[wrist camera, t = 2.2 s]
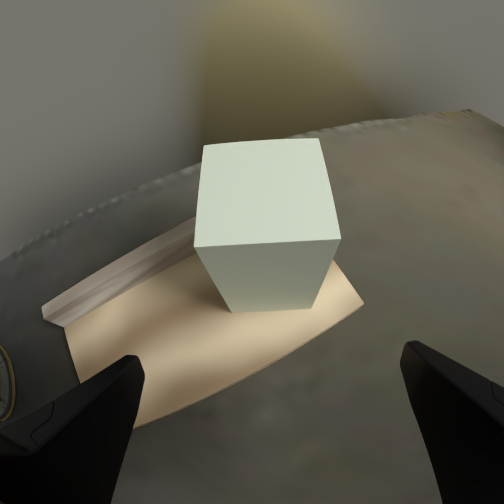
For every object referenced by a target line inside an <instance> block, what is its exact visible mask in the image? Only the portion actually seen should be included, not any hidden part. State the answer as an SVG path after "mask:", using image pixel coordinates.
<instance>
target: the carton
mask: <svg viewBox="0 0 504 504" xmlns="http://www.w3.org/2000/svg"><path fill="white" fill-rule="evenodd" d="M340 240H341V236H340V231H339V226H338V221H337V216H336V211H335V206H334V201H333V196H332V192H331V187H330V183H329V179H328V174H327V170H326V166H325V162H324V158H323V154H322V150H321V146H320V143H319V139H318V138H315V139H279V140H261V141H247V142H234V143H224V144H214V145H205V146H204V150H203V158H202V166H201V175H200V184H199V194H198V204H197V215H196V226H195V238H194V248H195V250H196V252H197V254H198V256H199V257H200V259H201V261H202V263H203V264H204V266H205V268H206V270H207V271H208V273H209V275H210V277H211V278H212V280H213V282H214V283H215V285H216V287H217V289H218V290H219V292H220V294H221V295H222V297H223V299H224V300H225V302H226V304H227V306H228V307H229V309H230V311H231V312H232V313H241V312H265V311H283V310H299V309H311V308H312V306H313V304H314V302H315V299H316V297H317V295H318V293H319V290H320V288H321V286H322V284H323V281H324V279H325V277H326V274H327V272H328V270H329V267H330V265H331V262H332V260H333V258H334V255H335V253H336V250H337V248H338V245H339V243H340Z"/></svg>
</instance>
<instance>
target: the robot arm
mask: <svg viewBox="0 0 504 504" xmlns="http://www.w3.org/2000/svg"><path fill="white" fill-rule="evenodd" d="M400 367H401V371H402V374H403V378H404V381H405V385H406V389H407V393H408V397H409V400H410V403H411V406H412V409H413V412H414V414H415V417H416V420H417V422H418V425H419V428H420V431H421V433H422V436H423V439H424V442H425V445H426V448H427V451H428V454H429V457H430V460H431V464H432V467H433V470H434V473H435V477H436V480H437V484H438V487H439V491H440V495H441V498H442V503H443V504H504V387H502V386H500V385H498V384H496V383H494V382H493V381H491V382H490V380H489V379H487V378H485V377H483V376H482V375H480V374H478V373H476V372H474V371H472V370H471V369H469V368H467V367H465V366H463V365H461V364H459V363H458V362H456V361H454V360H452V359H450V358H448V357H447V356H445V355H443V354H441V353H439V352H437V351H436V350H434V349H432V348H430V347H428V346H426V345H425V344H423V343H421V342H419V341H417V340H414V341H409V342H406V343H405V345H404V349H403V352H402V356H401V360H400ZM144 382H145V372H144V369H143V367H142V364H141V361H140V359H139V357H138V356H137V355H129V354H128V355H125V356H123V357H122V358H120V359H119V360H117V361H116V362H114V363H112V364H111V365H109V366H108V367H106V368H105V369H103V370H102V371H100V372H98V373H97V374H95V375H94V376H92V377H91V378H89V379H87V380H86V381H84V382H83V383H81V384H79V385H78V386H76V387H75V388H73V389H71V390H70V391H68V392H67V393H65V394H63V395H62V396H60V397H59V398H57V399H55V401H52V402H51V403H49V404H47V405H46V406H44V407H42V408H41V409H39V410H37V411H35V412H33V413H32V414H30V415H28V416H26V417H24V418H22V419H20V420H18V421H15V422H13V423H11V424H9V425H7V426H5V427H3V428H0V504H111V500H112V497H113V493H114V489H115V486H116V482H117V479H118V475H119V472H120V469H121V465H122V462H123V458H124V455H125V452H126V449H127V445H128V442H129V439H130V436H131V433H132V430H133V427H134V424H135V421H136V417H137V414H138V410H139V405H140V400H141V395H142V391H143V386H144Z"/></svg>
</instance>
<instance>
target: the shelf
mask: <svg viewBox="0 0 504 504" xmlns="http://www.w3.org/2000/svg"><path fill="white" fill-rule="evenodd" d="M195 226H196V216H195V217H193V218H191V219H189V220H187V221H185V222H184V223H182V224H180V225H178V226H176V227H174V228H172V229H171V230H169V231H167V232H165V233H163V234H161V235H160V236H158V237H156V238H154V239H152V240H151V241H149V242H147V243H145V244H143V245H142V246H140V247H138V248H136V249H135V250H133V251H131V252H129V253H128V254H126V255H124V256H123V257H121V258H119V259H117V260H116V261H114V262H112V263H111V264H109V265H107V266H106V267H104V268H102V269H101V270H99V271H97V272H96V273H94V274H92V275H91V276H89V277H87V278H86V279H84V280H83V281H81V282H79V283H78V284H76V285H75V286H73V287H71V288H70V289H68V290H67V291H65V292H63V293H62V294H60V295H59V296H57V297H56V298H54V299H53V300H51V301H50V302H48V303H47V304H45V305H43V306H42V313H43V318H44V319H45V320H47V321H50V322H52V323H54V324H57V325H59V326H62V327H64V330H65V334H66V338H67V342H68V345H69V349H70V352H71V356H72V359H73V362H74V365H75V369H76V372H77V375H78V378H79V381H80V383H83V382H84V381H86V380H87V379H89V378H91V377H92V376H94V375H95V374H97V373H98V372H100V371H102V370H103V369H105V368H106V367H108V366H109V365H111V364H112V363H114V362H116V361H117V360H119V359H120V358H122V357H123V356H125V355H128V354H129V355H137V356H138V357H139V359H140V361H141V364H142V367H143V369H144V372H145V382H144V386H143V391H142V395H141V400H140V405H139V410H138V414H137V417H136V421H135V424H134V427H133V429H135V428H138V427H140V426H143V425H145V424H148V423H150V422H153V421H155V420H158V419H160V418H163V417H165V416H167V415H170V414H172V413H174V412H177V411H179V410H181V409H183V408H186V407H188V406H190V405H192V404H194V403H197V402H199V401H201V400H203V399H205V398H207V397H209V396H211V395H213V394H215V393H217V392H219V391H221V390H223V389H225V388H227V387H229V386H231V385H233V384H235V383H237V382H239V381H241V380H243V379H245V378H247V377H249V376H250V375H252V374H254V373H256V372H258V371H260V370H261V369H263V368H265V367H267V366H269V365H270V364H272V363H274V362H276V361H277V360H279V359H281V358H282V357H284V356H286V355H288V354H289V353H291V352H293V351H294V350H296V349H298V348H299V347H301V346H303V345H304V344H306V343H307V342H309V341H311V340H312V339H314V338H315V337H317V336H319V335H320V334H322V333H323V332H325V331H326V330H328V329H329V328H331V327H332V326H334V325H335V324H337V323H338V322H340V321H341V320H343V319H344V318H346V317H347V316H349V315H350V314H352V313H353V312H355V311H356V310H357V309H359V308H360V307H361V306H362V305H363V304H364V303H363V301H362V300H361V298H360V297H359V295H358V294H357V293H356V291H355V290H354V288H353V287H352V285H351V284H350V283H349V281H348V280H347V278H346V277H345V276H344V274H343V273H342V271H341V270H340V269H339V267H338V266H337V265H336V263H335V262H334V260H332V262H331V265H330V267H329V270H328V272H327V274H326V277H325V279H324V281H323V284H322V286H321V288H320V290H319V293H318V295H317V297H316V299H315V302H314V304H313V306H312V308H311V309H299V310H283V311H265V312H241V313H232V312H231V311H230V309H229V307H228V306H227V304H226V302H225V300H224V299H223V297H222V295H221V294H220V292H219V290H218V289H217V287H216V285H215V283H214V282H213V280H212V278H211V277H210V275H209V273H208V271H207V270H206V268H205V266H204V264H203V263H202V261H201V259H200V257H199V256H198V254H197V252H196V250H195V248H194V238H195Z"/></svg>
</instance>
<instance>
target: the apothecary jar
mask: <svg viewBox="0 0 504 504" xmlns="http://www.w3.org/2000/svg"><path fill="white" fill-rule="evenodd" d="M15 397H16V384H15V375H14V370H13V366H12V363H11V360H10V358H9V356H8V354H7V352H6V351H5V350H4V348H3V347H2V346H0V421H4V420H6V419H7V418H8V417H9V416H10V415H11V413H12V411H13V409H14V404H15Z"/></svg>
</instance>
